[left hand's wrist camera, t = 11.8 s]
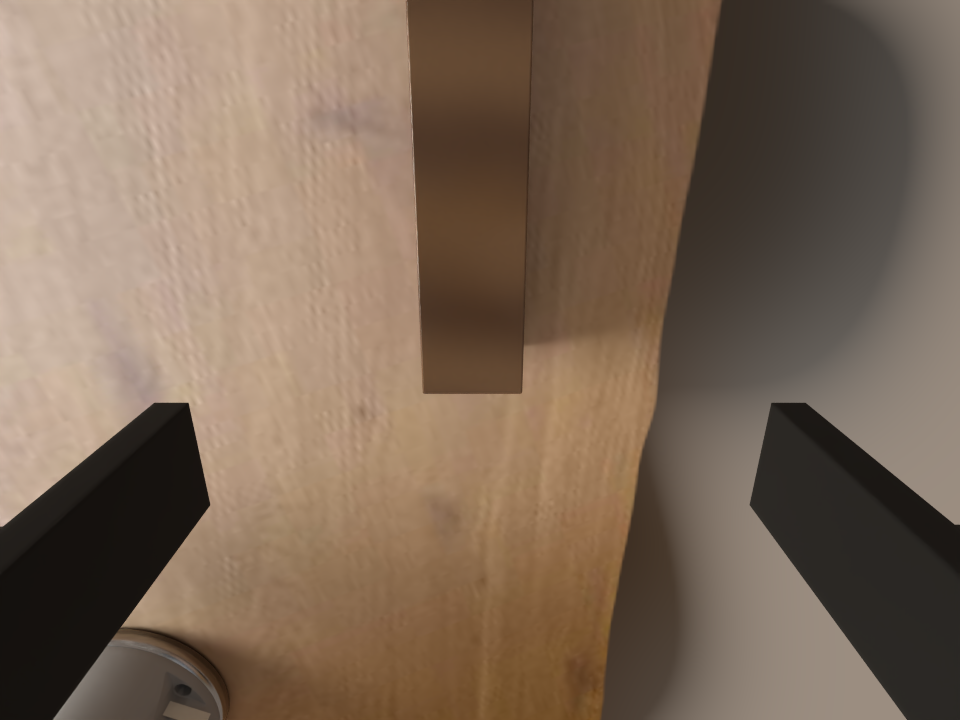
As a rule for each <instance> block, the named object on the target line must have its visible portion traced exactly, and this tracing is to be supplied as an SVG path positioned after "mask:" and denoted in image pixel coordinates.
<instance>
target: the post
mask: <svg viewBox="0 0 960 720" xmlns="http://www.w3.org/2000/svg"><path fill="white" fill-rule="evenodd" d="M406 14H407V37H408V60H409V83H410V107H411V130H412V153H413V176H414V199H415V222H416V245H417V268H418V292H419V315H420V338H421V361H422V384H423V393H424V394H521V393H522V379H523V344H524V309H525V275H526V240H527V205H528V171H529V136H530V102H531V67H532V32H533V0H406Z"/></svg>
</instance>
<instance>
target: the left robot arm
mask: <svg viewBox="0 0 960 720" xmlns="http://www.w3.org/2000/svg"><path fill="white" fill-rule="evenodd" d="M209 506H210V501H209V497H208V492H207V487H206V482H205V478H204V473H203V468H202V464H201V459H200V454H199V450H198V445H197V440H196V436H195V431H194V426H193V422H192V417H191V412H190V408H189V403H154V404H152V405H151V406H150V407H149V408H148V409H146V410H145V411H144V412H143V413H141V414H140V415H139V416H138V417H137V418H135V419H134V420H133V421H132V422H130V423H129V424H128V425H127V426H126V427H124V428H123V429H122V430H121V431H119V432H118V433H117V434H116V435H115V436H113V437H112V438H111V439H110V440H108V441H107V442H106V443H105V444H104V445H102V446H101V447H100V448H99V449H97V450H96V451H95V452H94V453H93V454H91V455H90V456H89V457H88V458H86V459H85V460H84V461H83V462H82V463H80V464H79V465H78V466H77V467H75V468H74V469H73V470H72V471H71V472H69V473H68V474H67V475H66V476H64V477H63V478H62V479H61V480H60V481H58V482H57V483H56V484H55V485H53V486H52V487H51V488H50V489H49V490H47V491H46V492H45V493H44V494H42V495H41V496H40V497H39V498H37V499H36V500H35V501H34V502H33V503H31V504H30V505H29V506H28V507H26V508H25V509H24V510H23V511H22V512H20V513H19V514H18V515H17V516H15V517H14V518H13V519H12V520H11V521H9V522H8V523H7V524H6V525H4V526H3V527H0V720H225V719H226V717H227V714H228V709H229V697H228V692H227V688H226V686H225V684H224V682H223V680H222V678H221V676H220V675H219V673H218V672H217V671H216V669H215V668H214V667H213V666H212V665H211V664H210V663H209V662H208V661H207V660H206V659H205V658H204V657H202V656H201V655H200V654H198V653H197V652H196V651H194V650H193V649H191V648H189V647H188V646H186V645H184V644H182V643H180V642H178V641H176V640H173V639H171V638H168V637H165V636H162V635H159V634H156V633H152V632H147V631H141V630H133V629H120V628H121V626H122V625H123V623H124V622H125V621H126V619H127V618H128V617H129V615H130V614H131V612H132V611H133V610H134V608H135V607H136V606H137V604H138V603H139V602H140V600H141V599H142V597H143V596H144V595H145V593H146V592H147V591H148V589H149V588H150V587H151V585H152V584H153V582H154V581H155V580H156V578H157V577H158V576H159V574H160V573H161V572H162V570H163V569H164V567H165V566H166V565H167V563H168V562H169V561H170V559H171V558H172V557H173V555H174V554H175V552H176V551H177V550H178V548H179V547H180V546H181V544H182V543H183V542H184V540H185V539H186V537H187V536H188V535H189V533H190V532H191V531H192V529H193V528H194V527H195V525H196V524H197V522H198V521H199V520H200V518H201V517H202V516H203V514H204V513H205V511H206V510H207V509H208V507H209ZM750 506H751V507H752V509H753V510H754V511H755V513H756V514H757V516H758V517H759V518H760V520H761V521H762V522H763V524H764V525H765V526H766V528H767V529H768V531H769V532H770V533H771V535H772V536H773V537H774V539H775V540H776V542H777V543H778V544H779V546H780V547H781V548H782V550H783V551H784V552H785V554H786V555H787V557H788V558H789V559H790V561H791V562H792V563H793V565H794V566H795V567H796V569H797V570H798V572H799V573H800V574H801V576H802V577H803V578H804V580H805V581H806V582H807V584H808V585H809V586H810V588H811V589H812V591H813V592H814V593H815V595H816V596H817V597H818V599H819V600H820V602H821V603H822V604H823V606H824V607H825V608H826V610H827V611H828V612H829V614H830V615H831V617H832V618H833V619H834V621H835V622H836V623H837V625H838V626H839V628H840V629H841V630H842V632H843V633H844V634H845V636H846V637H847V638H848V640H849V641H850V642H851V644H852V645H853V647H854V648H855V649H856V651H857V652H858V653H859V655H860V656H861V658H862V659H863V660H864V662H865V663H866V664H867V666H868V667H869V668H870V670H871V671H872V672H873V674H874V675H875V677H876V678H877V679H878V681H879V682H880V683H881V685H882V686H883V688H884V689H885V690H886V692H887V693H888V694H889V696H890V697H891V698H892V700H893V701H894V702H895V704H896V705H897V707H898V708H899V709H900V711H901V712H902V713H903V715H904V716H905V718H906V719H907V720H960V525H954V524H953V523H952V522H951V521H949V520H948V519H947V518H946V517H945V516H943V515H942V514H941V513H940V512H938V511H937V510H936V509H935V508H933V507H932V506H931V505H930V504H929V503H927V502H926V501H925V500H924V499H923V498H921V497H920V496H919V495H918V494H916V493H915V492H914V491H913V490H911V489H910V488H909V487H908V486H907V485H905V484H904V483H903V482H902V481H900V480H899V479H898V478H897V477H896V476H894V475H893V474H892V473H891V472H889V471H888V470H887V469H886V468H885V467H883V466H882V465H881V464H880V463H878V462H877V461H876V460H875V459H874V458H872V457H871V456H870V455H869V454H867V453H866V452H865V451H864V450H863V449H861V448H860V447H859V446H858V445H856V444H855V443H854V442H853V441H852V440H850V439H849V438H848V437H847V436H845V435H844V434H843V433H842V432H840V431H839V430H838V429H837V428H836V427H834V426H833V425H832V424H831V423H829V422H828V421H827V420H826V419H825V418H823V417H822V416H821V415H820V414H818V413H817V412H816V411H815V410H814V409H812V408H811V407H810V406H809V405H808V404H806V403H771V408H770V412H769V417H768V422H767V426H766V431H765V436H764V440H763V445H762V450H761V454H760V459H759V464H758V468H757V473H756V478H755V483H754V487H753V492H752V497H751V501H750Z"/></svg>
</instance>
